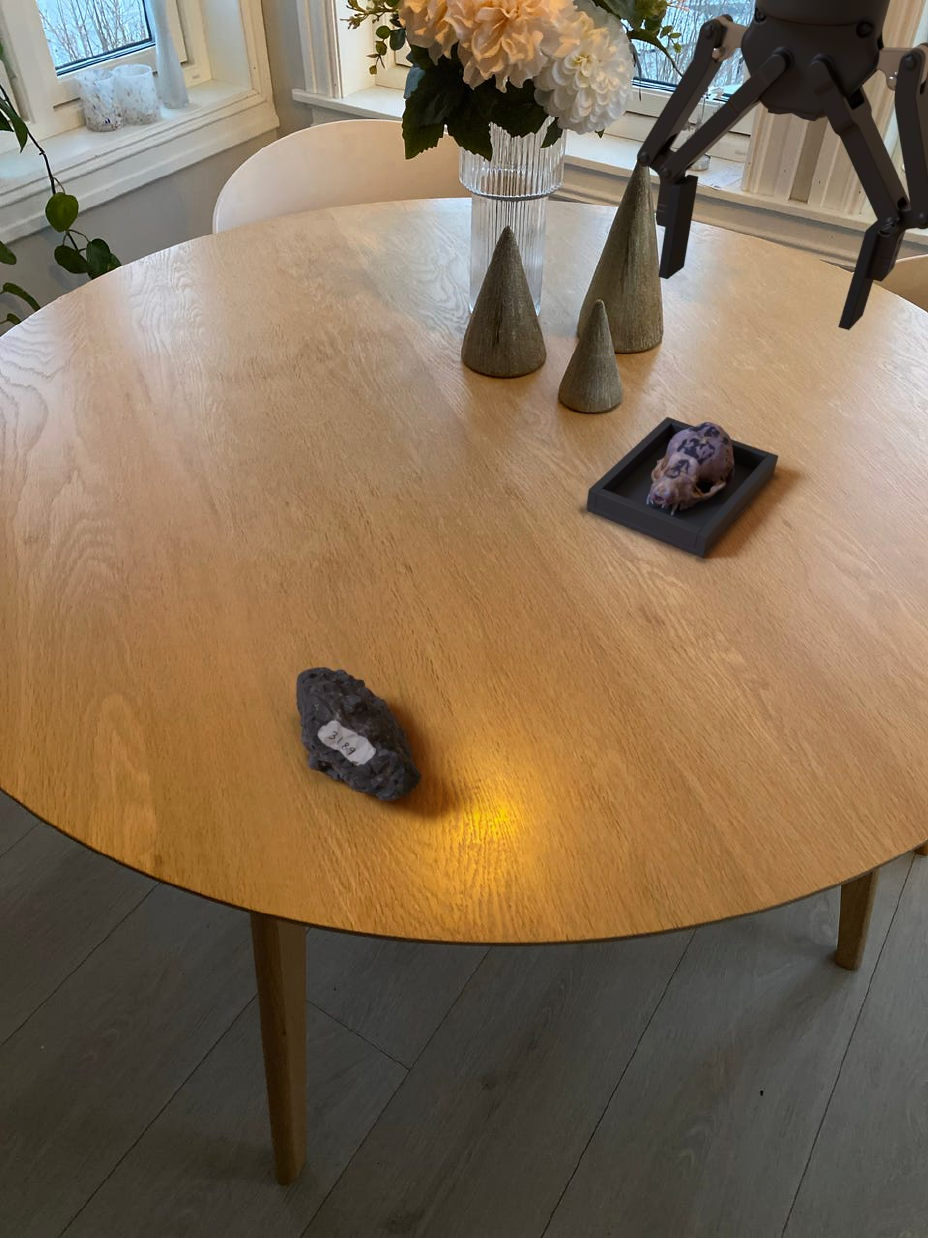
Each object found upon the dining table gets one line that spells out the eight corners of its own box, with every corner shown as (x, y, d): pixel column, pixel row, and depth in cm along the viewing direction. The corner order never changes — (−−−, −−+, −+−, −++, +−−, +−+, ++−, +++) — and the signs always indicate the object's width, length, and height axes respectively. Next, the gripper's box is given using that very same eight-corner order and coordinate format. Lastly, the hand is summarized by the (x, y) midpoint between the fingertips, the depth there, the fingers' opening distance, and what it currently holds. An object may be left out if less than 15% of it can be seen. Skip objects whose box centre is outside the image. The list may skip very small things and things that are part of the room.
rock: (245, 676, 73) (349, 634, 68) (314, 679, 80) (412, 641, 76) (278, 832, 70) (388, 799, 66) (346, 820, 77) (449, 789, 73)
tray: (773, 475, 102) (779, 455, 100) (702, 558, 92) (707, 537, 90) (663, 436, 108) (667, 416, 106) (586, 510, 97) (588, 489, 96)
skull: (679, 526, 94) (683, 470, 90) (616, 502, 98) (618, 447, 95) (747, 482, 100) (754, 427, 97) (685, 461, 105) (690, 408, 101)
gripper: (609, -80, 57) (579, 269, 71) (1060, -33, 46) (917, 367, 61) (667, -94, 61) (628, 237, 76) (1091, -55, 51) (951, 323, 65)
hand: (756, 296), depth 68 cm, fingers open, 13 cm apart
